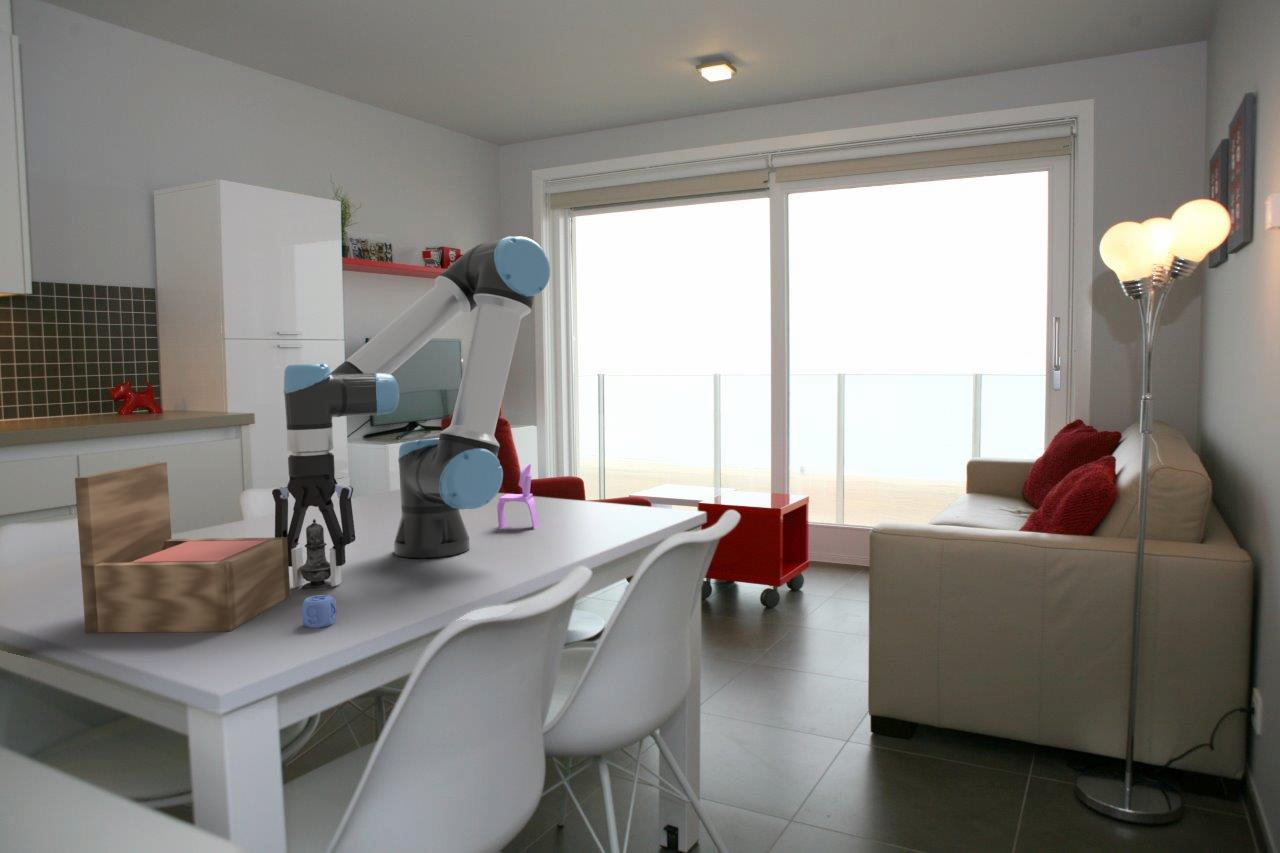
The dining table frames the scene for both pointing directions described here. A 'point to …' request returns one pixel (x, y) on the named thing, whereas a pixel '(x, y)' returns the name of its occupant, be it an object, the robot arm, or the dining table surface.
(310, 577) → the salt shaker
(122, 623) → the wooden box
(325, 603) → the decorative dice
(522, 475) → the toy chair
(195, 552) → the trapdoor
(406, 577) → the dining table surface
